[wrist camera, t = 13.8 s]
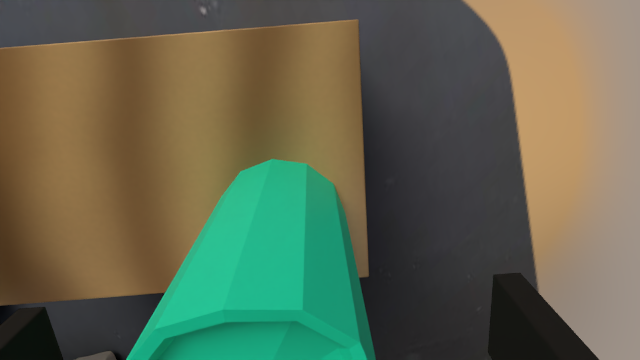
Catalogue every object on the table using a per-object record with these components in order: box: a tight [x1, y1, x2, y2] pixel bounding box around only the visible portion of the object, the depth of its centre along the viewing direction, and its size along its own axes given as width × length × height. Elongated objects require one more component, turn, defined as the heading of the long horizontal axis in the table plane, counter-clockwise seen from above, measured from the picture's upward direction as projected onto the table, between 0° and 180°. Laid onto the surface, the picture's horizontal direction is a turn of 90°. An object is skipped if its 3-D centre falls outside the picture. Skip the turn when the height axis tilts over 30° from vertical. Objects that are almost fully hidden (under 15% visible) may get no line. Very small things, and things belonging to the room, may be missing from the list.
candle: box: [126, 159, 376, 360], centre depth 13 cm, size 6×6×12 cm
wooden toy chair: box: [0, 20, 369, 306], centre depth 18 cm, size 20×12×22 cm, turn 94°
